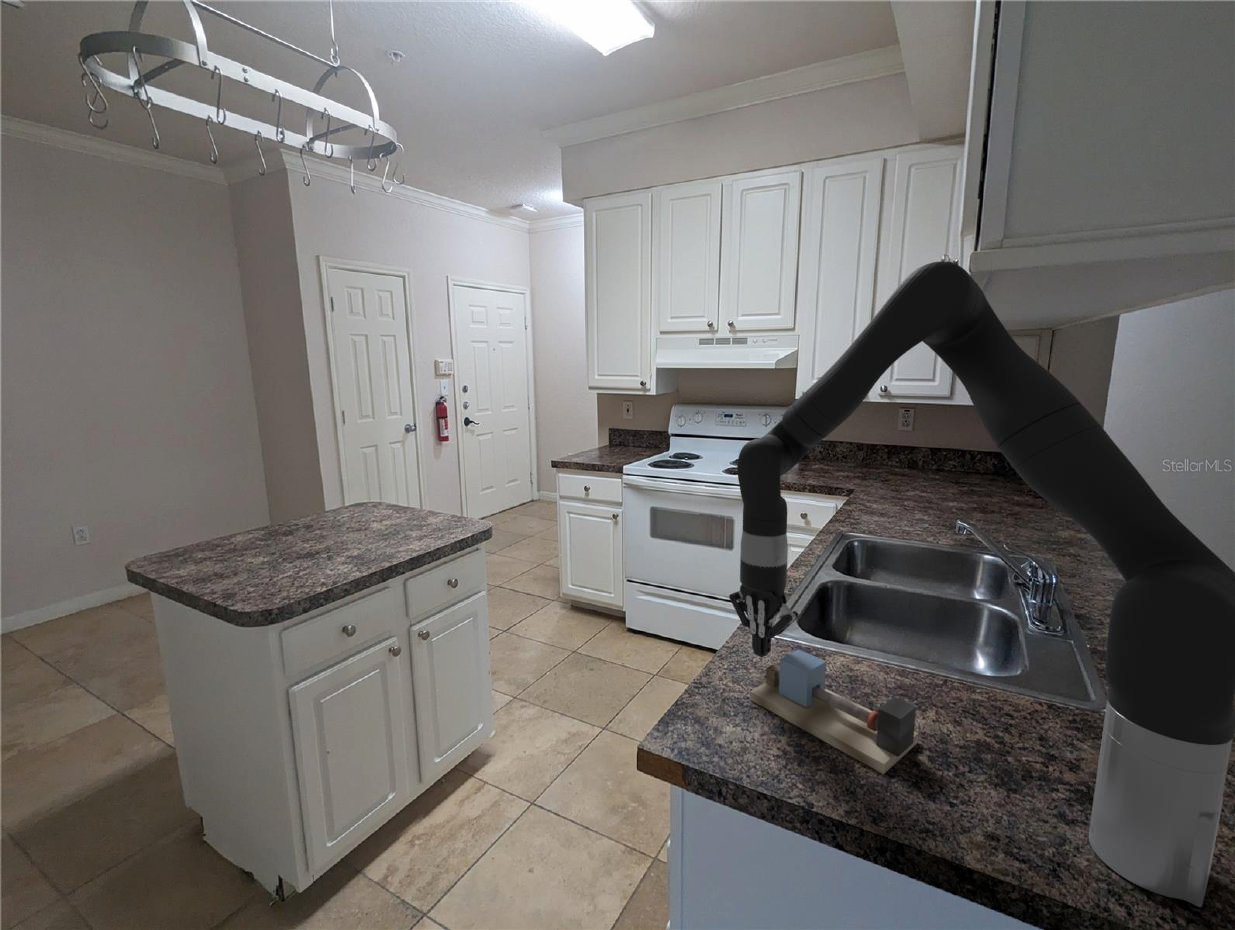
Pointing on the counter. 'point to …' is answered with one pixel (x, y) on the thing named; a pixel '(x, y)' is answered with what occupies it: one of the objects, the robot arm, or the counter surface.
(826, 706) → the rail board
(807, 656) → the blue sleeve
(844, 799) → the counter surface
